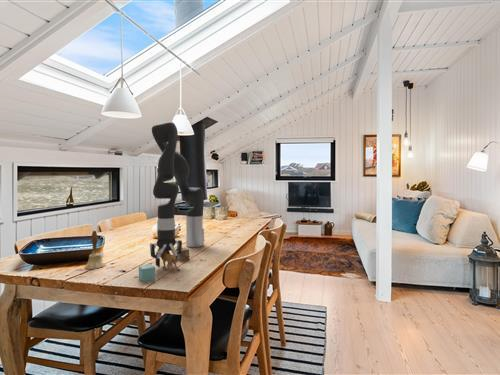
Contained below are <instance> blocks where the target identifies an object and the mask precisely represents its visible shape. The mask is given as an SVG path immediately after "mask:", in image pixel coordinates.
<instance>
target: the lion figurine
mask: <svg viewBox="0 0 500 375" xmlns="http://www.w3.org/2000/svg"><path fill="white" fill-rule="evenodd" d="M170 252H171V251H164V252H163V253H162V254H161V256H160V257H159V258H160V259H161V260H162V263H163V266H162V267H161V268H162V269H165V268H166V266H167V267H170V268H171V271H170V272H171V273H174V272H175V270H176V271H177V272H180V271H181V270H180V269H179V268H178V267H177V266H178V265H177V263H176V261H177V262H178V260H177V259H176V256H175V255H173V254H171V253H170ZM156 253H157V251H155V254H156ZM166 262H167V265H166ZM173 262H174V264H173ZM173 265H174V266H173Z"/></svg>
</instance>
